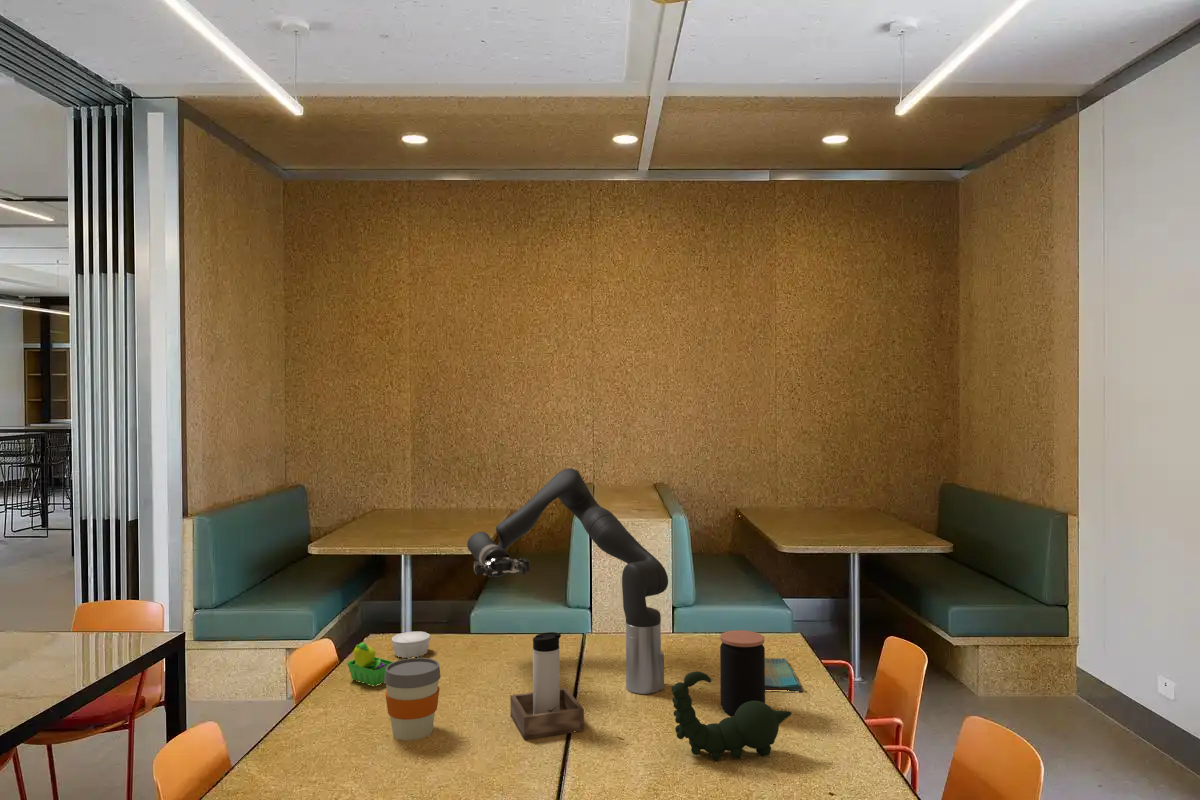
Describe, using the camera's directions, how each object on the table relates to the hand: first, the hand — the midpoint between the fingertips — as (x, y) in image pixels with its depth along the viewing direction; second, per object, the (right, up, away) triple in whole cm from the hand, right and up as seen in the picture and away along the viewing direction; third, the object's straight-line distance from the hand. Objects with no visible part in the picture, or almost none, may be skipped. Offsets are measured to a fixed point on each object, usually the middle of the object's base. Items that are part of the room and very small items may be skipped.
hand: (507, 571), depth 197 cm
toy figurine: (+52, -32, -33) cm, 69 cm away
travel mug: (+11, -31, -16) cm, 37 cm away
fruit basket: (-39, -33, +12) cm, 52 cm away
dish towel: (+68, -33, +14) cm, 77 cm away
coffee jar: (+59, -32, -10) cm, 67 cm away
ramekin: (-33, -33, +35) cm, 58 cm away
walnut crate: (+11, -32, -17) cm, 38 cm away
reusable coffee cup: (-19, -32, -21) cm, 43 cm away
